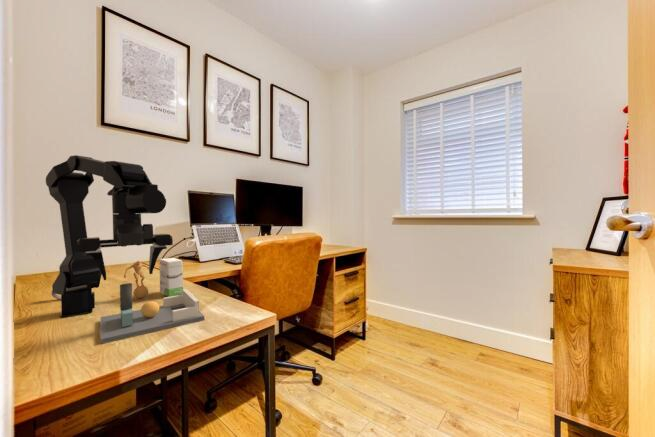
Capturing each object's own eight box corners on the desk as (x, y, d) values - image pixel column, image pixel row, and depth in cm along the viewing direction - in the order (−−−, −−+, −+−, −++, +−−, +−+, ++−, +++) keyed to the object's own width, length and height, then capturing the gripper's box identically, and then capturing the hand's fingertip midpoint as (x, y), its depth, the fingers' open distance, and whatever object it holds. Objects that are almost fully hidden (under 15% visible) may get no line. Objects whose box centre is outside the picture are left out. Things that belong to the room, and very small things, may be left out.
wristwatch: (49, 301, 88) (49, 285, 88) (56, 298, 90) (55, 283, 90) (72, 300, 89) (72, 284, 89) (78, 297, 92) (78, 282, 91)
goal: (173, 321, 69) (173, 305, 69) (163, 306, 80) (163, 292, 80) (199, 315, 73) (198, 300, 73) (186, 302, 84) (186, 289, 84)
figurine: (128, 302, 86) (128, 264, 86) (121, 299, 90) (120, 261, 90) (157, 296, 93) (157, 260, 93) (149, 292, 97) (149, 258, 96)
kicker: (121, 327, 65) (120, 288, 65) (119, 317, 71) (119, 282, 71) (134, 324, 67) (133, 287, 66) (131, 314, 73) (130, 280, 73)
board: (100, 343, 60) (100, 339, 60) (100, 320, 72) (100, 317, 72) (204, 319, 73) (204, 316, 73) (189, 303, 85) (189, 300, 85)
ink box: (183, 294, 95) (183, 259, 95) (168, 297, 92) (167, 261, 91) (174, 289, 101) (173, 257, 101) (159, 292, 97) (158, 258, 97)
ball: (142, 321, 69) (141, 305, 69) (140, 316, 72) (140, 301, 72) (160, 317, 72) (160, 302, 72) (158, 313, 75) (157, 298, 75)
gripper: (75, 214, 57) (77, 290, 57) (177, 213, 69) (178, 276, 69) (76, 214, 65) (78, 281, 65) (167, 213, 77) (168, 269, 78)
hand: (128, 276), depth 69 cm, fingers open, 9 cm apart
